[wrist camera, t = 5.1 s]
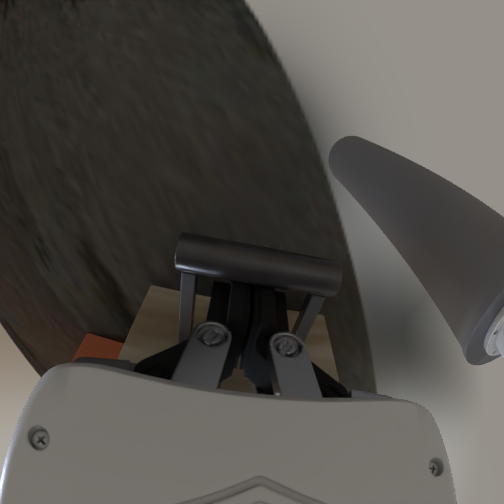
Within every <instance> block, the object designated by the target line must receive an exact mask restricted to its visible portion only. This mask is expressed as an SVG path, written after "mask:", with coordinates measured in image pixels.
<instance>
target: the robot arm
mask: <svg viewBox="0 0 504 504" xmlns="http://www.w3.org/2000/svg"><path fill="white" fill-rule="evenodd" d="M484 348H485V350H486V352H487V354H488V355H490V356H496V355H499V354H501V355H502V357H503V358H504V306H503V307H502V308H501V310H500V311H499V313H498V314H497V316H496V317H495V319H494V320H493V322H492V324H491V325H490V327H489V329H488V331H487V334H486V336H485V340H484ZM240 353H241V356H240ZM239 357H240V369H242V370H244V377H247V378H248V379H249V380H250V381H251V382H252V383H253V386H252V389H253V393H246V392H238V391H230V390H223V389H220V387H221V384H222V381H223V380H225V379H227V378H228V377H230V376H232V372H233V369H234V368H235V369H236V368H237V364H238V361H239ZM0 504H457V502H456V495H455V488H454V483H453V478H452V474H451V469H450V464H449V460H448V456H447V453H446V449H445V446H444V443H443V439H442V436H441V434H440V431H439V429H438V426H437V424H436V422H435V420H434V418H433V416H432V414H431V413H430V412H429V411H428V410H427V409H426V408H425V407H423V406H421V405H419V404H417V403H414V402H411V401H408V400H403V399H397V398H392V397H389V396H385V395H379V394H374V393H369V392H364V391H359V390H354V389H351V390H350V391H347V390H346V389H345V388H344V387H343V386H342V385H341V384H340V383H339V382H337V381H336V380H335V379H333V378H332V377H331V376H330V375H328V374H327V373H326V372H324V371H323V370H322V369H321V368H319V367H318V366H317V365H316V364H314V363H313V362H312V361H311V360H310V357H309V354H308V351H307V348H306V345H305V343H304V342H303V340H302V339H301V338H300V337H299V336H297V335H295V334H293V333H290V332H289V324H288V315H287V307H286V298H285V293H284V292H277V291H274V288H272V287H266V286H260V285H254V284H249V283H243V282H237V281H232V280H231V282H230V284H229V283H223V282H218V281H214V285H213V289H212V294H211V299H210V304H209V308H208V313H207V318H206V321H204V322H201V323H199V324H198V325H196V326H195V328H194V329H193V331H192V333H191V336H190V338H189V339H187V340H185V341H183V342H181V343H179V344H177V345H174V346H172V347H170V348H168V349H166V350H163V351H161V352H159V353H157V354H154V355H152V356H150V357H148V358H145V359H143V360H141V361H140V362H138V363H130V360H117V359H105V358H95V357H79V358H77V359H75V360H74V361H73V362H72V363H66V364H61V365H57V366H55V367H52V368H51V369H50V370H48V371H47V372H46V373H45V374H44V375H43V376H42V377H41V379H40V380H39V381H38V383H37V385H36V386H35V388H34V389H33V391H32V393H31V395H30V397H29V398H28V401H27V403H26V405H25V407H24V409H23V411H22V413H21V416H20V418H19V421H18V423H17V426H16V429H15V431H14V434H13V437H12V440H11V443H10V446H9V449H8V452H7V455H6V459H5V463H4V467H3V471H2V475H1V480H0Z"/></svg>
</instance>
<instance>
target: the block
mask: <svg viewBox="0 0 504 504" xmlns="http://www.w3.org/2000/svg"><path fill="white" fill-rule="evenodd" d="M123 345H124V343H121V342H117V341H114V340H110V339H107V338H104V337H100V336H97V335H94V334H91V333H87V334H86V336H85V338H84V339H83V341H82V343H81V345H80V347H79V349H78V351H77V352H76V354H75V356H74V358H73V360H72V362H73V361H74V360H75V359H77V358H79V357H95V358H105V359H117V360H118V357H119V355H120V352H121V350H122V348H123ZM72 362H71V363H72Z"/></svg>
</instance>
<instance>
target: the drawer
mask: <svg viewBox="0 0 504 504" xmlns="http://www.w3.org/2000/svg"><path fill="white" fill-rule="evenodd" d="M174 265H175V269H176V270H179V271H182V272H181V286H180V291H176V290H172V289H167V288H162V287H157V286H153V285H151V287H150V289H149V291H148V293H147V295H146V297H145V299H144V301H143V304H142V306H141V308H140V310H139V312H138V314H137V316H136V319H135V321H134V323H133V325H132V327H131V330H130V332H129V334H128V336H127V339H126V341H125V343H124V345H123V348H122V350H121V352H120V355H119V357H118V360H130V363H138V362H140V361H141V360H143V359H145V358H148V357H150V356H152V355H154V354H157V353H159V352H161V351H163V350H166V349H168V348H170V347H172V346H174V345H177V344H179V343H181V342H183V341H185V340H187V339H189V338H190V336H191V333H192V331H193V329H194V328H195V326H196V325H198V324H199V323H201V322H204V321H206V318H207V313H208V308H209V304H210V299H211V297H207V296H202V295H197V294H196V293H197V283H198V274H200V275H205V276H210V277H216V278H221V279H226V280H232V281H237V282H243V283H249V284H254V285H260V286H266V287H272V288H278V289H284V290H290V291H296V292H303V293H307V296H306V298H305V301H304V303H303V305H302V308H301V310H300V312H298V311H291V310H287V315H288V324H289V332H290V333H293V334H295V335H297V336H299V337H300V338H301V339H302V340H303V342H304V343H305V345H306V348H307V351H308V354H309V357H310V360H311V361H312V362H313V363H314V364H316V365H317V366H318V367H319V368H321V369H322V370H323V371H324V372H326V373H327V374H328V375H330V376H331V377H332V378H333V379H335V380H336V381H337V382H339V379H338V374H337V370H336V365H335V361H334V356H333V352H332V347H331V343H330V339H329V335H328V330H327V326H326V322H325V318H324V315H320V314H318V312H319V310H320V308H321V306H322V304H323V302H324V299H325V296H329V297H333V296H335V295H336V294H337V293H338V291H339V289H340V287H341V283H342V277H343V269H342V265H341V263H340V262H339V261H335V260H329V259H324V258H319V257H314V256H309V255H303V254H298V253H293V252H288V251H282V250H277V249H272V248H267V247H261V246H256V245H251V244H245V243H240V242H235V241H229V240H224V239H219V238H213V237H208V236H202V235H197V234H191V233H186V232H182V233H181V235H180V237H179V239H178V243H177V247H176V252H175V260H174ZM240 356H241V353H240ZM252 386H253V383H252V382H251V381H250V380H249V379H248V378H247V377H244V370H242V369H240V357H239V361H238V364H237V368H236V369H235V368H234V369H233V372H232V376H230V377H228V378H227V379H225V380H223V381H222V384H221V387H220V389H223V390H230V391H238V392H246V393H253V389H252Z"/></svg>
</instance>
